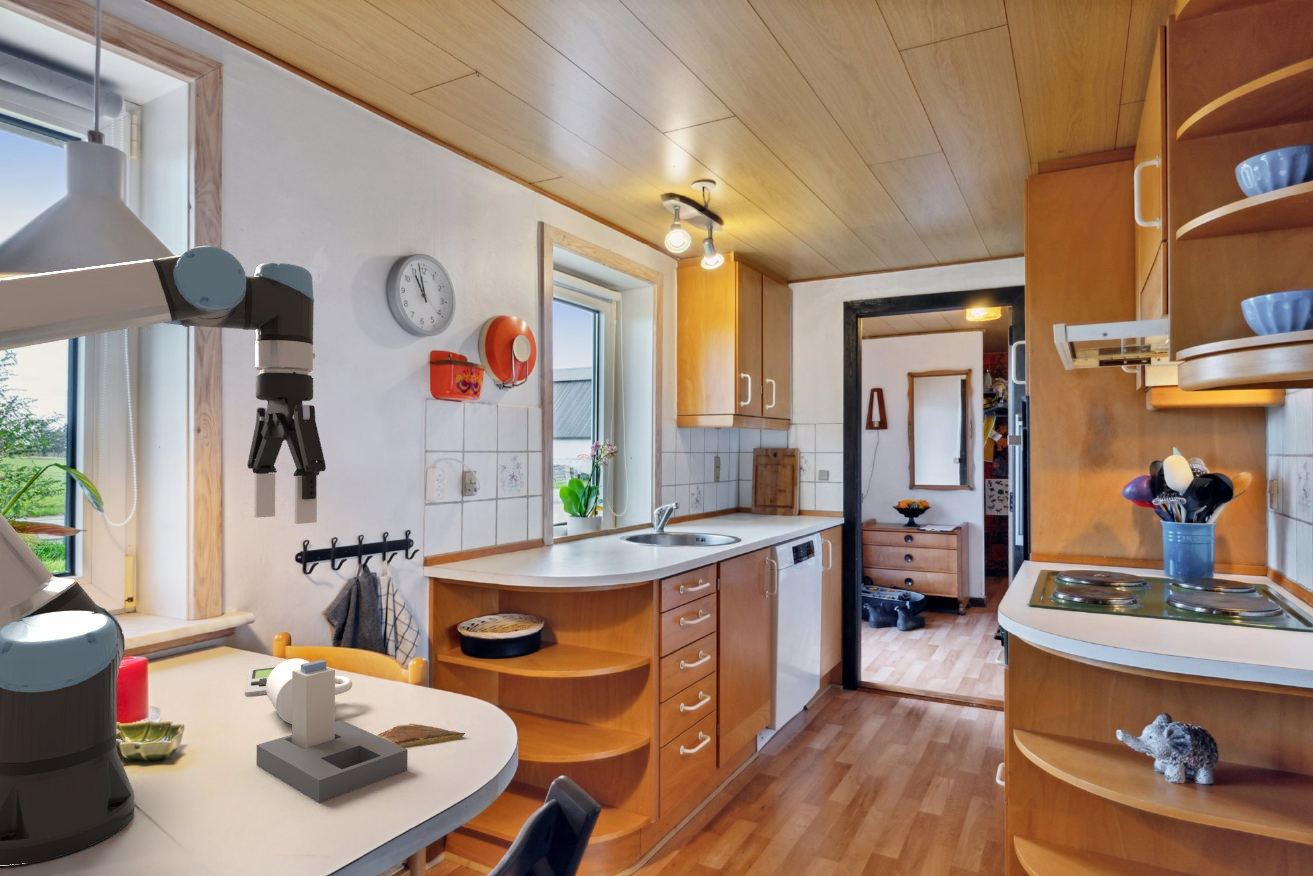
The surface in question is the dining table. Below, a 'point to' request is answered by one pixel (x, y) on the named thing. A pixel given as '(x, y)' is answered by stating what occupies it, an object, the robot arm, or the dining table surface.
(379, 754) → the panel
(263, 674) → the handheld gaming console
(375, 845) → the dining table surface
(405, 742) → the shard
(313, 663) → the plug
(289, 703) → the mug
